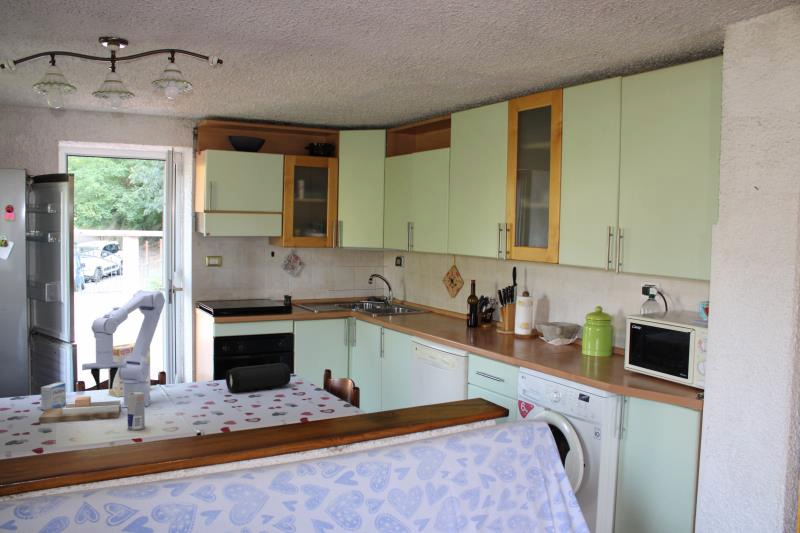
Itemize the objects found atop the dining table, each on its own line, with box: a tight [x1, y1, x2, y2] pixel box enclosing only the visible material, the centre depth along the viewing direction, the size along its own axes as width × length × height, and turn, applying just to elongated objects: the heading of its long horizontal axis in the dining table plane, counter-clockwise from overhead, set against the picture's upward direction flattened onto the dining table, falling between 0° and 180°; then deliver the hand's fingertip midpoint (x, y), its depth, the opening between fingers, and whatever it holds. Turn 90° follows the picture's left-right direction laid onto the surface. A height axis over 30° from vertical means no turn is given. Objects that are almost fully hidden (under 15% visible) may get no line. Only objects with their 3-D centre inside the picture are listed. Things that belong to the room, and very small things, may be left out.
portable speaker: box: [225, 362, 292, 393], centre depth 289 cm, size 26×10×10 cm, turn 123°
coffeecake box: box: [107, 342, 151, 398], centre depth 280 cm, size 15×7×20 cm, turn 144°
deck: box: [38, 403, 122, 424], centre depth 245 cm, size 25×12×2 cm, turn 107°
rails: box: [62, 399, 121, 415], centre depth 246 cm, size 18×8×2 cm, turn 107°
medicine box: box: [40, 382, 67, 411], centre depth 255 cm, size 8×4×9 cm, turn 168°
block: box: [74, 395, 92, 408], centre depth 245 cm, size 4×4×4 cm
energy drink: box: [126, 391, 146, 431], centre depth 231 cm, size 5×5×12 cm
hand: (104, 388), depth 246 cm, fingers open, 3 cm apart
